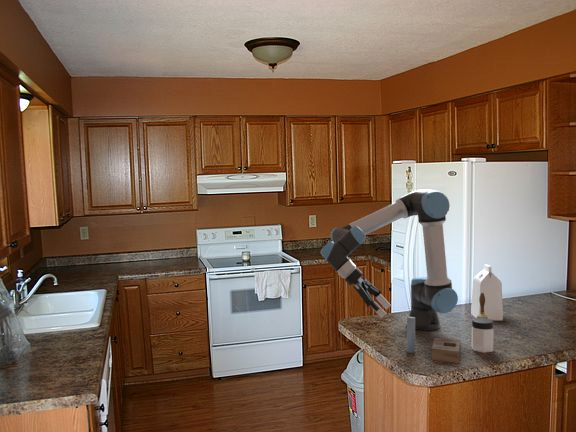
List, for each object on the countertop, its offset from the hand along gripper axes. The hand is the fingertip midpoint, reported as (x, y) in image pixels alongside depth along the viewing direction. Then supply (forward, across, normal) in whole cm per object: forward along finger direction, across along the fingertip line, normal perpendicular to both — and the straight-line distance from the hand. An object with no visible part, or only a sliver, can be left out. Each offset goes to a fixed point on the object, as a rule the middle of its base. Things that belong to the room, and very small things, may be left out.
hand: (386, 311), depth 213 cm
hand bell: (+38, -44, +16) cm, 61 cm away
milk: (+40, -62, +18) cm, 76 cm away
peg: (+18, 0, -4) cm, 19 cm away
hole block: (+28, 0, +6) cm, 28 cm away
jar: (+38, -11, +15) cm, 42 cm away
